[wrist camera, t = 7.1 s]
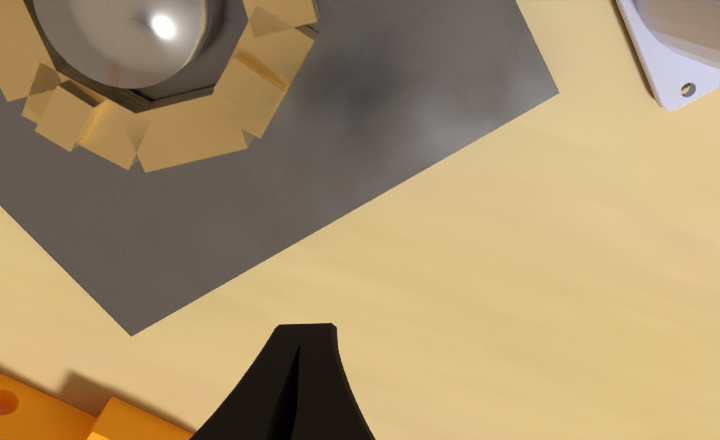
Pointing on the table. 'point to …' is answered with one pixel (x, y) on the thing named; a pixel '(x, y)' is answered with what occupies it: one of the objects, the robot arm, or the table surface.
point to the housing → (264, 156)
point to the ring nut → (162, 117)
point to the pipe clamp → (75, 419)
